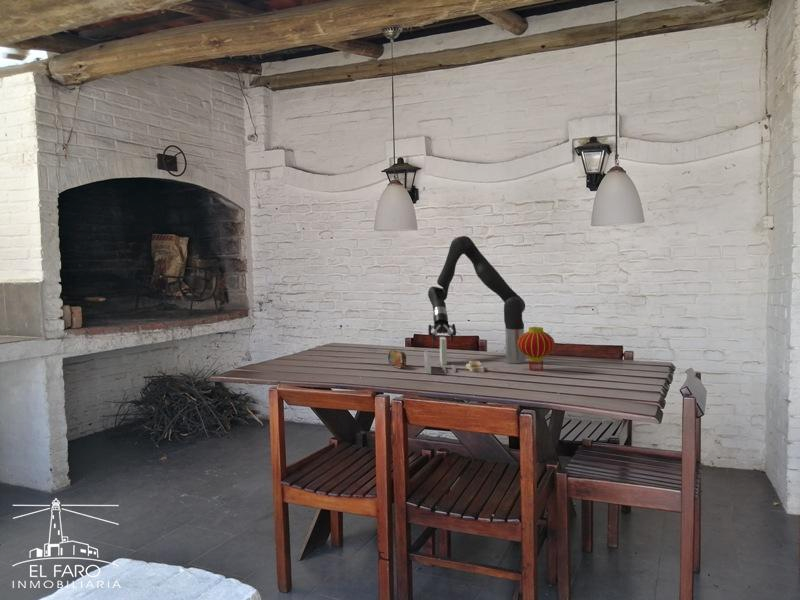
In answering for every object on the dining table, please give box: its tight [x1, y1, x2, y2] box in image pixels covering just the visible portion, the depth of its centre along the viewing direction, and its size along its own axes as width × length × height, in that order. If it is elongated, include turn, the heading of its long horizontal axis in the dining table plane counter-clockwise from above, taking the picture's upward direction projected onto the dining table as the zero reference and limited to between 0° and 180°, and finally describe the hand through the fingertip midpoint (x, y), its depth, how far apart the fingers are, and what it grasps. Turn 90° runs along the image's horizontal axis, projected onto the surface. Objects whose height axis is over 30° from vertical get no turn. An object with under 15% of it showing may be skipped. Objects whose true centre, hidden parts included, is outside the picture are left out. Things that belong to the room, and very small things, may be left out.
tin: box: [387, 349, 407, 369], centre depth 301 cm, size 15×3×8 cm, turn 28°
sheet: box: [439, 336, 448, 365], centre depth 310 cm, size 2×10×13 cm, turn 2°
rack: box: [423, 350, 457, 375], centre depth 290 cm, size 14×18×8 cm
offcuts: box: [465, 360, 485, 373], centre depth 291 cm, size 6×14×4 cm, turn 3°
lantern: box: [517, 326, 556, 372], centre depth 286 cm, size 17×17×30 cm
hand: (443, 341), depth 311 cm, fingers open, 8 cm apart
